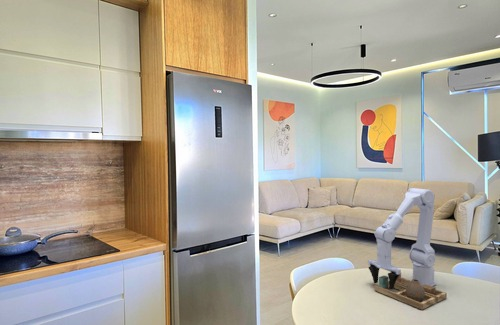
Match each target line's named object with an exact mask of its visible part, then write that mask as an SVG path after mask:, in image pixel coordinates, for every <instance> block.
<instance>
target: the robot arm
mask: <svg viewBox="0 0 500 325" xmlns="http://www.w3.org/2000/svg"><path fill="white" fill-rule="evenodd" d="M404 196H405V198H404V199H403V200H402V202H401V204H400V205H399V207H398V209H397V210H396V211H395V212H394V213H391V214H389V215H388V217H387V218H386V220H385V221H384V222H383V224H381V226H378V227H377V228H376V229H375V231H374V236H375V238H376V240H375V241H376V244H377V246H376V260H373V259H369V260H368V261H367V263H368V264H367V265H368V270H369V272H370V274H371V277H372V281H373V283H374V284H376V283H377V284H379V272H380V269H382V270H385V271H387V277H388V281H389V288H388V290H393V289H395V288H394V285H395V282H396V280H397V278H398V276H399V275H400V274H401V275H402V269H401V268H398V267H396V266H394V265H393V264H392V242H393V240H395V237H396V234H397V230H398V229H399V228H400V226H401V225H402V224H403V222H404V220H403V219H404V217H405V216H406V214H407V213H408V212H409V211H411V209H412V208H413V207H414V206H417V207H418V208H419V216H418V226H417V235H416V242H415V243H413V244H412V245H411V249H410V250H409V253H408V255H409V260H411V263H412V279H417V280H419V282H420V284H422V285H425V284H427V285H430V286H433V287H435V286H436V285H437V283H436V282H435V267H434V265H435V263H436V260H437V258H436V254H435V249H434V248H433V247H432V246H431V238H432V230H433V223H434V222H433V221H434V220H433V219H434V211H435V193H434V192H433V191H432V190H431V189H428V188H427V189H424V188H417V187H409V189H408V190H407V191H406V192H405V194H404Z"/></svg>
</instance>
